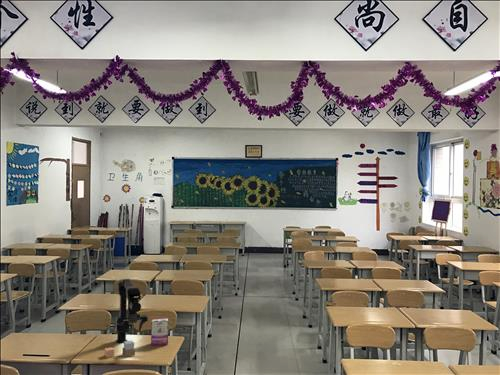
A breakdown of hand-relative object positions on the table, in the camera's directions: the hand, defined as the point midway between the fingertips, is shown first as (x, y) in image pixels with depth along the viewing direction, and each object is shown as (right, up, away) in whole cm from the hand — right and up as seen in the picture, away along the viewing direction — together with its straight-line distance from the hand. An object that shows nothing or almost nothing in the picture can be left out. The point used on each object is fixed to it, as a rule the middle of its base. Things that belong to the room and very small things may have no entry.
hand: (131, 332), depth 275 cm
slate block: (-2, -10, 0) cm, 10 cm away
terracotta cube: (-13, -14, -3) cm, 19 cm away
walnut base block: (-2, -14, 0) cm, 14 cm away
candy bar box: (+13, -15, +20) cm, 28 cm away
